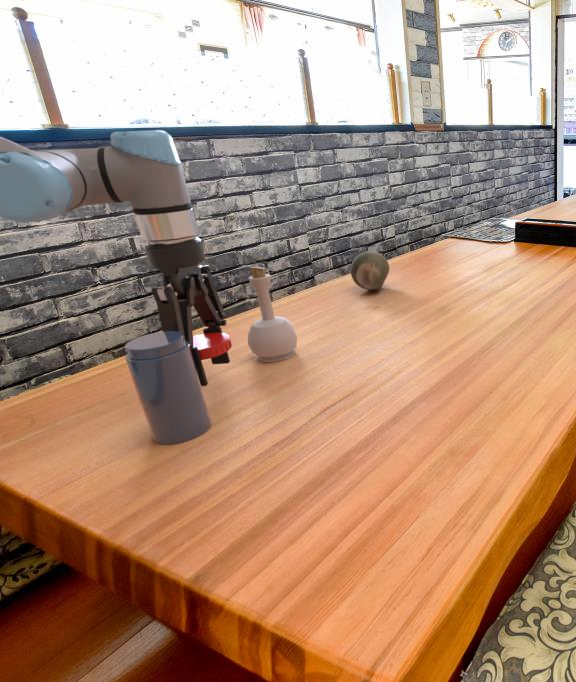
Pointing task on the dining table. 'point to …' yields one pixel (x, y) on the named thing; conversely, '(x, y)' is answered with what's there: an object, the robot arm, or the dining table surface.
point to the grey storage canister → (168, 386)
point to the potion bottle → (269, 325)
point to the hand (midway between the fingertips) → (210, 373)
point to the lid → (211, 344)
